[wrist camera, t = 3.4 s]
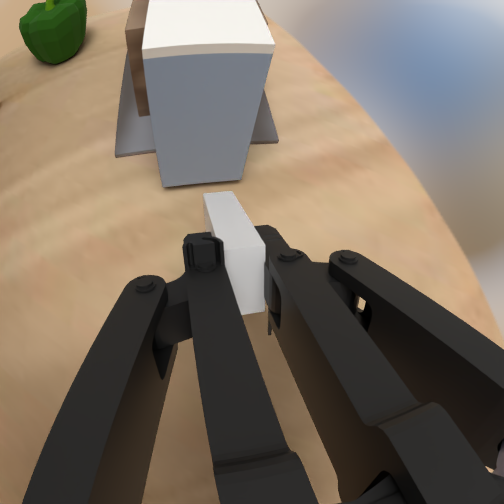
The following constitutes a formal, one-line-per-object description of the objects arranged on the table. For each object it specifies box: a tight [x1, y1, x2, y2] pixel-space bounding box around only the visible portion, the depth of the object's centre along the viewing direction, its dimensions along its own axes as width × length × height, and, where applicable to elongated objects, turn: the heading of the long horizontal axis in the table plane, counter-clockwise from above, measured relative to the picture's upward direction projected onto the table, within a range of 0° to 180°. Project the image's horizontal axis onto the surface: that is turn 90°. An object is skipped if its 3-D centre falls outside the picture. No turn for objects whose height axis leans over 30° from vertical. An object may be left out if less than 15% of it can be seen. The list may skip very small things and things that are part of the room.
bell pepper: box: [19, 0, 87, 64], centre depth 23 cm, size 8×8×10 cm
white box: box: [142, 0, 275, 187], centre depth 19 cm, size 6×10×13 cm, turn 10°
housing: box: [115, 0, 279, 158], centre depth 23 cm, size 14×18×10 cm
